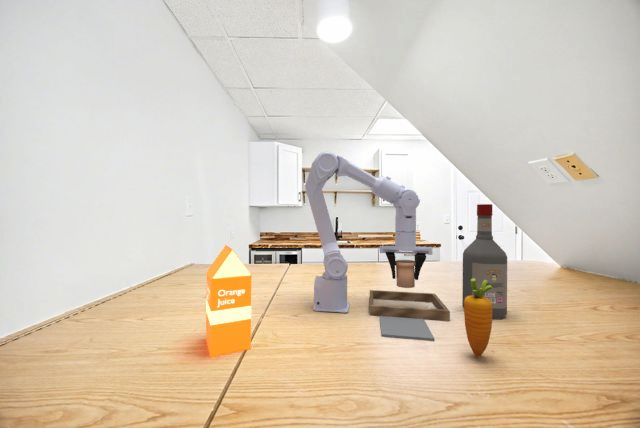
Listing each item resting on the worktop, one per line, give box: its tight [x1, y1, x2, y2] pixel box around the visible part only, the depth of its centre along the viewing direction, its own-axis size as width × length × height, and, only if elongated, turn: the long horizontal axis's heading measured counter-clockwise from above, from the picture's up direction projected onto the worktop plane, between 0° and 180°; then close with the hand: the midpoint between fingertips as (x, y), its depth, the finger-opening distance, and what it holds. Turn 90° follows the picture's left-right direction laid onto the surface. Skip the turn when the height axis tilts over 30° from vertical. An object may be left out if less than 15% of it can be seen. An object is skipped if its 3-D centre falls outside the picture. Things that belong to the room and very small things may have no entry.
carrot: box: [463, 278, 493, 358], centre depth 52 cm, size 5×5×15 cm
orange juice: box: [205, 244, 252, 358], centre depth 57 cm, size 8×9×20 cm
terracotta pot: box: [395, 259, 416, 289], centre depth 79 cm, size 6×6×7 cm
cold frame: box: [369, 289, 451, 322], centre depth 79 cm, size 20×16×2 cm
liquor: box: [461, 203, 508, 320], centre depth 76 cm, size 9×9×30 cm
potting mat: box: [379, 316, 435, 342], centre depth 65 cm, size 11×11×1 cm
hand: (405, 278), depth 79 cm, fingers closed on terracotta pot, 6 cm apart
